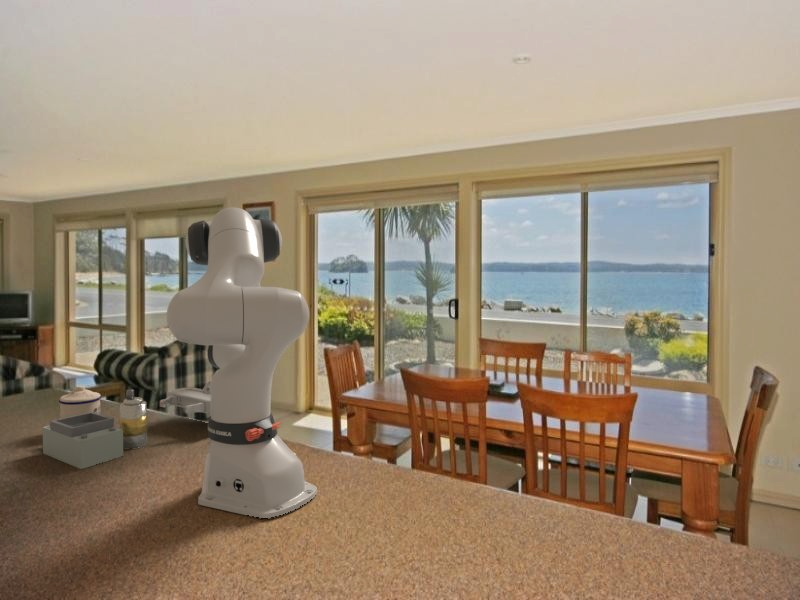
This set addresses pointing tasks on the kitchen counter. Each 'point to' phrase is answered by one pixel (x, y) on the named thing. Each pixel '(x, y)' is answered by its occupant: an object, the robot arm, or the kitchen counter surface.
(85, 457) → the block
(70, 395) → the teacup with lid
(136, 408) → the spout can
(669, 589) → the kitchen counter surface
